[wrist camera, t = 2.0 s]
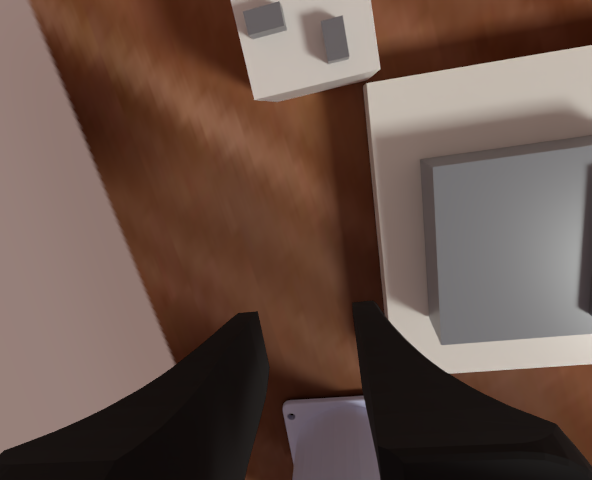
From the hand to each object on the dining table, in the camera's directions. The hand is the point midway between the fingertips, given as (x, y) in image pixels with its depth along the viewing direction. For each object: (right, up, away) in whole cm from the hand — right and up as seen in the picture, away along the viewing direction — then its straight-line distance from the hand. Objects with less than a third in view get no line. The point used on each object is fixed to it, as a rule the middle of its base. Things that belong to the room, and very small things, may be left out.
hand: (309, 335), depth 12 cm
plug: (0, +12, +7) cm, 14 cm away
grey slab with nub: (+10, +3, +6) cm, 12 cm away
